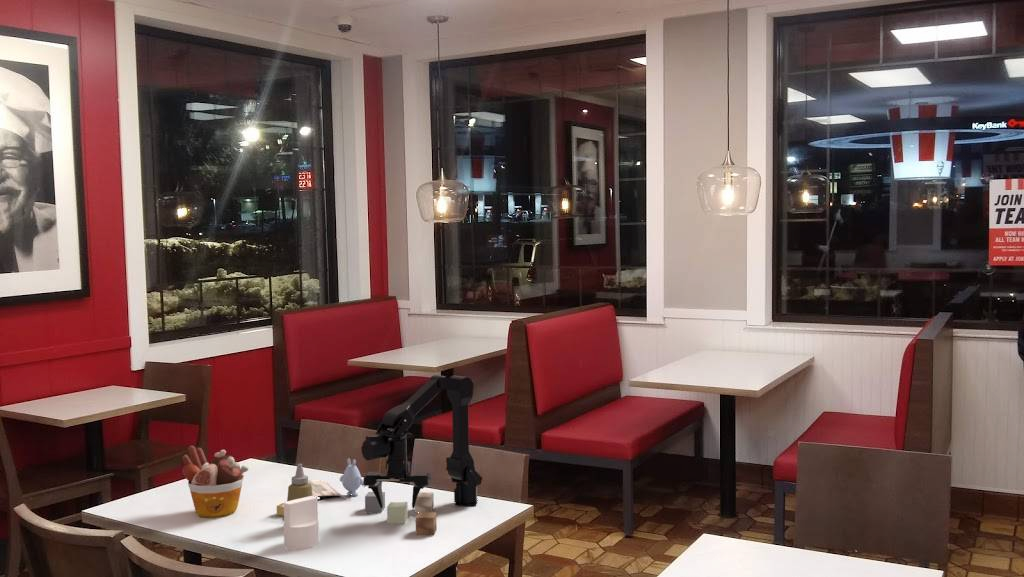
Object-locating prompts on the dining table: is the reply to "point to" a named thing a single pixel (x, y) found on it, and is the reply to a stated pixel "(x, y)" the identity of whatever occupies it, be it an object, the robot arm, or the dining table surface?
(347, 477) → the toy figure
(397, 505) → the sage block
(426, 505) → the cream block
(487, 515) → the dining table surface
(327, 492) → the newspaper
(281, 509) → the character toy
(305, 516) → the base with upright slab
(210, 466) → the bucket of meat
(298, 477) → the squeeze bottle
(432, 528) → the walnut block
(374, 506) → the slate block
